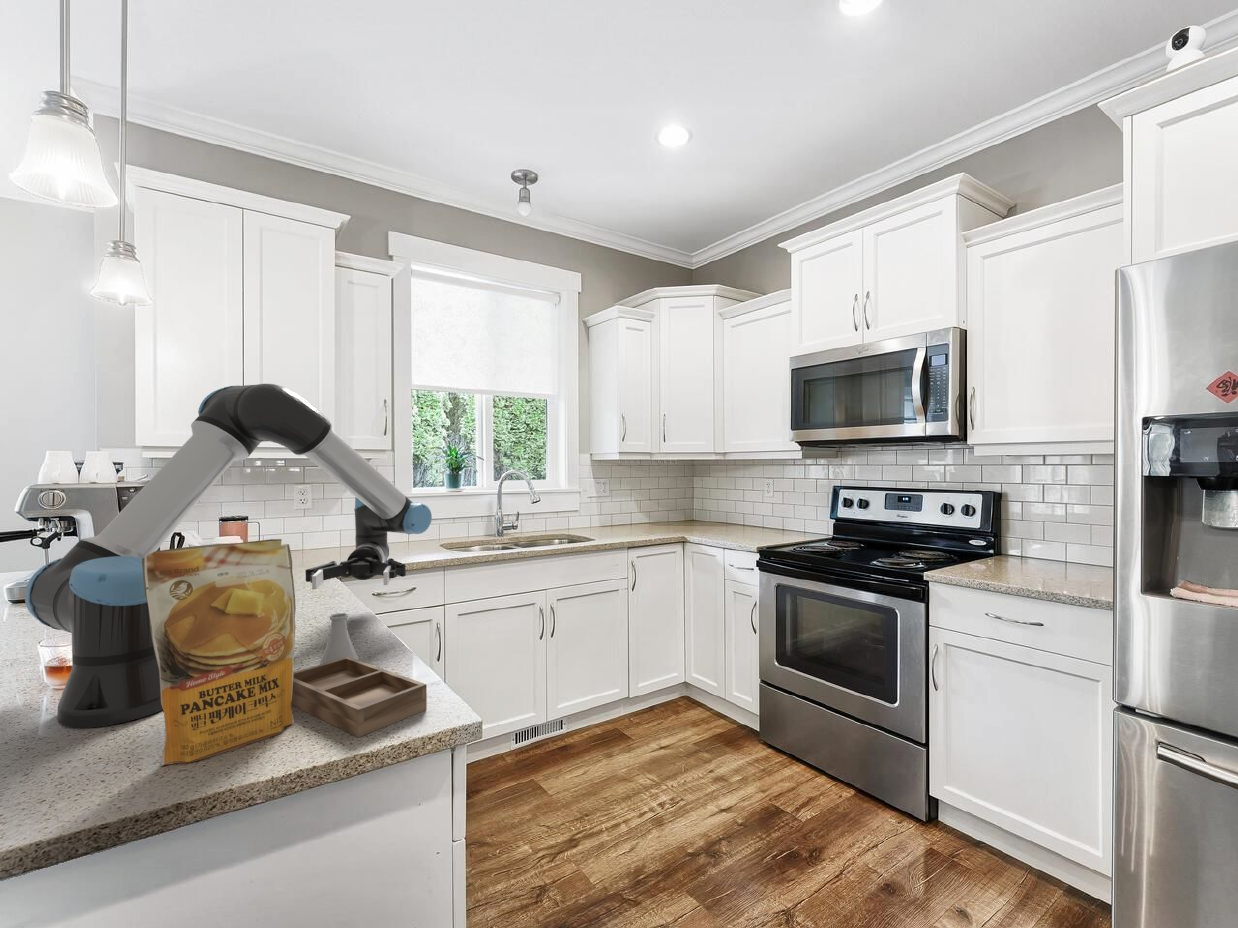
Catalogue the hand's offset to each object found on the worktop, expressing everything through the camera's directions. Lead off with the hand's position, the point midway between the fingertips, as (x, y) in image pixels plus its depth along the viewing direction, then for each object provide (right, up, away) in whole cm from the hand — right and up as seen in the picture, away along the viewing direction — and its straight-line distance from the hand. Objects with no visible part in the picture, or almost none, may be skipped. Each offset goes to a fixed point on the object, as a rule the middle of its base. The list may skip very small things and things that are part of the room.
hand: (350, 580), depth 124 cm
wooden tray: (+12, -15, -27) cm, 33 cm away
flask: (+2, -15, -10) cm, 18 cm away
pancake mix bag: (0, -15, -39) cm, 42 cm away
